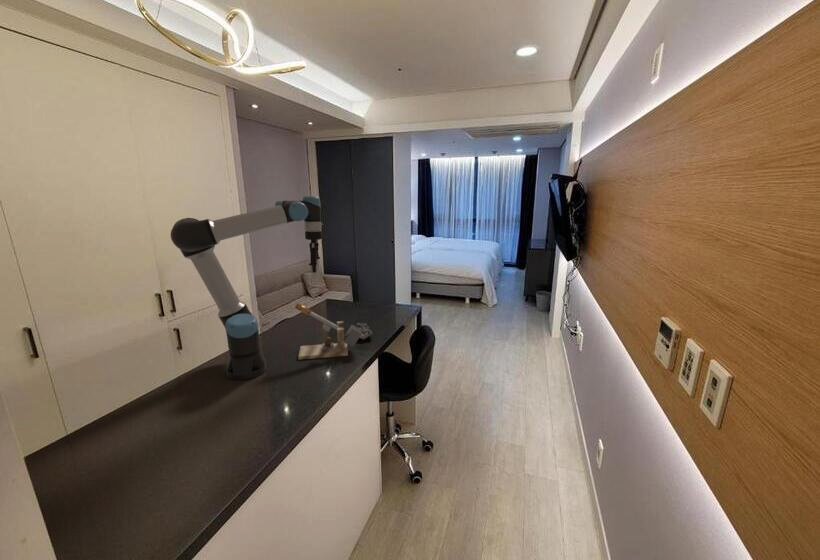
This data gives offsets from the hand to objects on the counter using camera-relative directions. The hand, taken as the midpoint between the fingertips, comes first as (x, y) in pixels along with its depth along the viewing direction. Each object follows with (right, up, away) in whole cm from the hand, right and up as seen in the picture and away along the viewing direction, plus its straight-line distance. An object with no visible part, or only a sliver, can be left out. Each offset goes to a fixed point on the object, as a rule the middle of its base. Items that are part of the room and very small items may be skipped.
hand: (315, 275), depth 163 cm
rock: (+20, -32, +16) cm, 41 cm away
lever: (+5, -25, -5) cm, 26 cm away
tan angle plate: (+5, -36, -2) cm, 36 cm away
